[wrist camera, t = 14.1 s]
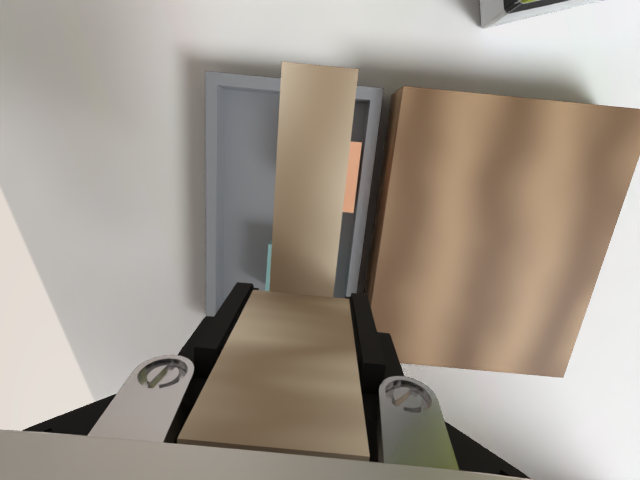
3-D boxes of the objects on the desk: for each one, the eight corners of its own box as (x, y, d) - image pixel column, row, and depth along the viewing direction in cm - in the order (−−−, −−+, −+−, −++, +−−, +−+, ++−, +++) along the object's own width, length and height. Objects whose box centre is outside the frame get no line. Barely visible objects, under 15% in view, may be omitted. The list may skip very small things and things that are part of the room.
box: (378, 93, 25) (383, 88, 22) (347, 331, 30) (349, 347, 28) (216, 78, 25) (205, 70, 22) (215, 319, 30) (205, 334, 28)
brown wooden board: (604, 115, 25) (654, 110, 21) (533, 348, 31) (563, 377, 27) (391, 94, 25) (403, 86, 21) (358, 332, 30) (363, 359, 27)
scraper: (367, 86, 11) (455, -42, 3) (321, 461, 16) (315, 772, 8) (276, 77, 11) (160, -70, 3) (257, 455, 16) (188, 760, 8)
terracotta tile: (361, 142, 21) (322, 138, 21) (353, 212, 22) (315, 209, 22) (355, 142, 25) (322, 139, 25) (348, 201, 27) (317, 198, 27)
